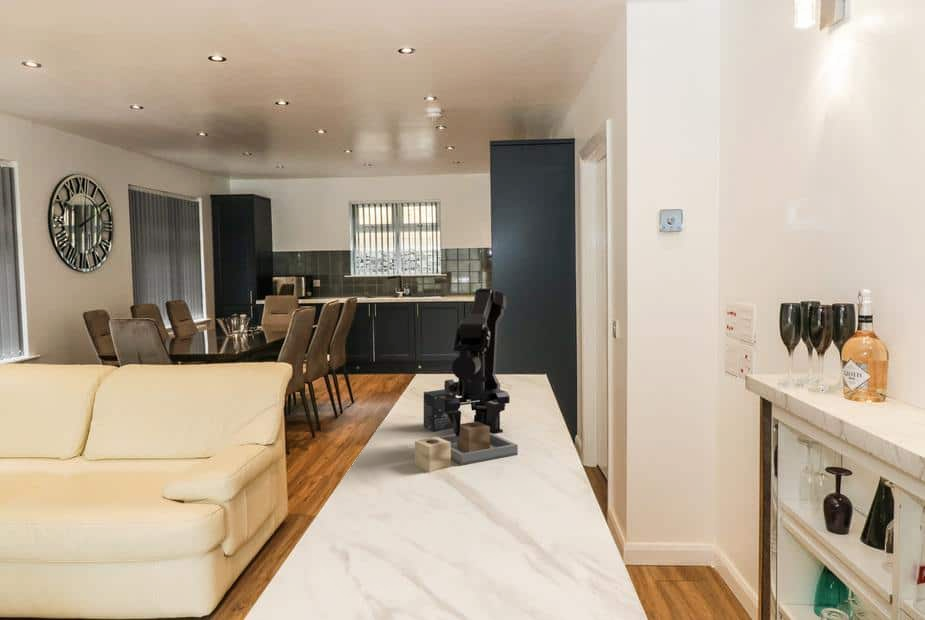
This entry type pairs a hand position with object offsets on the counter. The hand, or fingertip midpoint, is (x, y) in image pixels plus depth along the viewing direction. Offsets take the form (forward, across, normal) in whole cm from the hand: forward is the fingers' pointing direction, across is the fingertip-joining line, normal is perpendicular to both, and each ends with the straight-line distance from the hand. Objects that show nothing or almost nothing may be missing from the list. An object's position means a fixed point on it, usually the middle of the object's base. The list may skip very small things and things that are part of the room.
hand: (473, 433), depth 160 cm
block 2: (+4, 0, 0) cm, 4 cm away
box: (+5, -3, -24) cm, 25 cm away
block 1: (+5, +14, +5) cm, 15 cm away
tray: (+5, 0, 0) cm, 5 cm away
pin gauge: (+5, +3, -11) cm, 12 cm away
